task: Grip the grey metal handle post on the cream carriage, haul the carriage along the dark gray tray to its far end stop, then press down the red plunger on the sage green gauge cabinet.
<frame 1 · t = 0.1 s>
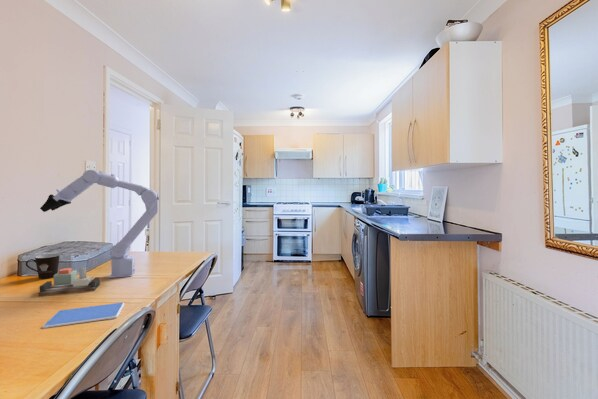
hand: (46, 209, 124), 32 cm above the table, tool tilted 50°, fingers open, 7 cm apart
plunger: (65, 274, 121), point 4 cm above the table, slide at 0.0 cm
gauge cabinet: (65, 284, 122), on the table
carriage: (82, 276, 116), point 5 cm above the table, slide at 0.0 cm
tablet computer: (87, 317, 93), on the table
dark gray tray: (71, 289, 115), on the table
coffee mug: (45, 277, 131), on the table
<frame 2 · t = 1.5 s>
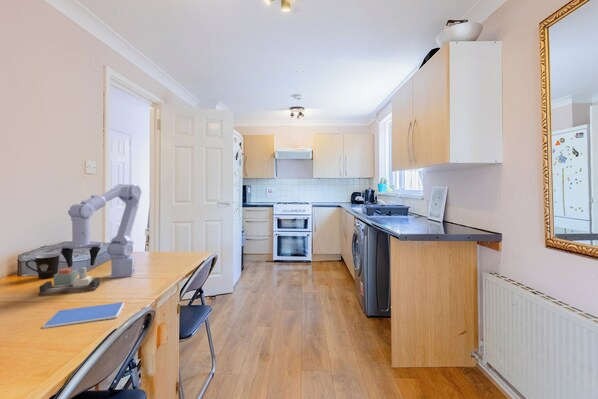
hand: (81, 265, 116), 10 cm above the table, tool pointing down, fingers open, 7 cm apart
nothing on the table moved.
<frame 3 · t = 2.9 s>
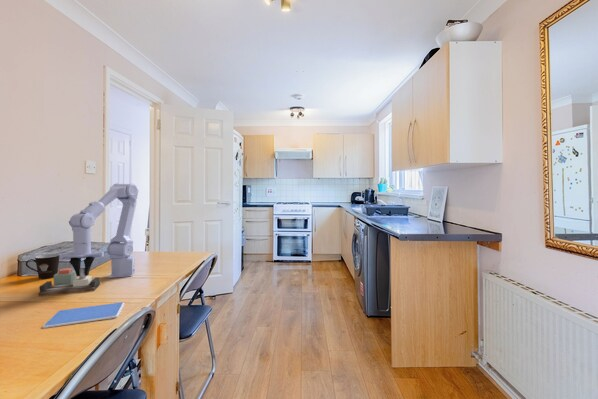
hand: (82, 275, 116), 6 cm above the table, tool pointing down, fingers closed on carriage, 2 cm apart
carriage: (82, 276, 116), point 5 cm above the table, slide at 0.0 cm, touching gripper
everything else where it was.
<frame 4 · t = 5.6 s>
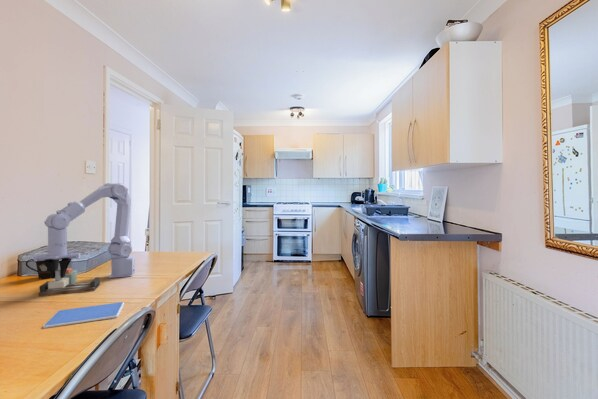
hand: (58, 277, 113), 6 cm above the table, tool pointing down, fingers closed on carriage, 2 cm apart
carriage: (58, 278, 113), point 5 cm above the table, slide at 8.1 cm, touching gripper
everything else where it was.
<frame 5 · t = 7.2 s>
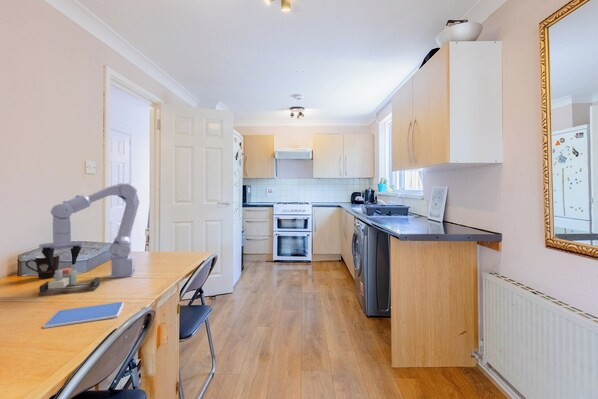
hand: (62, 264, 118), 9 cm above the table, tool pointing down, fingers open, 7 cm apart
carriage: (58, 278, 113), point 5 cm above the table, slide at 8.0 cm
everything else where it was.
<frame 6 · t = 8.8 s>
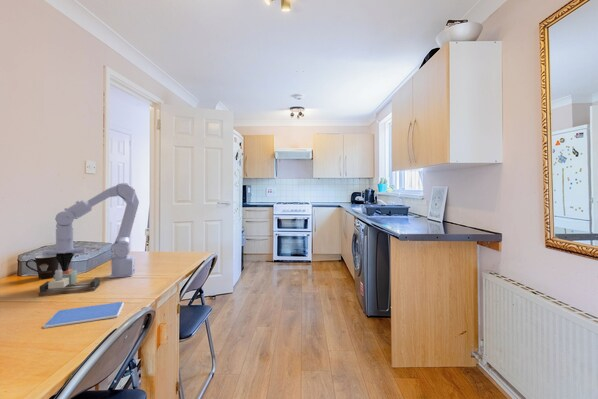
hand: (65, 270, 121), 6 cm above the table, tool pointing down, fingers closed, pressing on plunger
plunger: (65, 275, 121), point 4 cm above the table, slide at 0.5 cm, touching gripper
everything else where it was.
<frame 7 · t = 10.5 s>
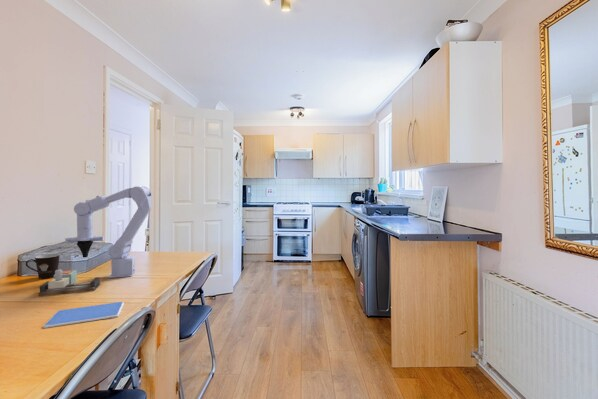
hand: (85, 256, 132), 9 cm above the table, tool pointing down, fingers closed
plunger: (65, 276, 121), point 3 cm above the table, slide at 1.1 cm
everything else where it was.
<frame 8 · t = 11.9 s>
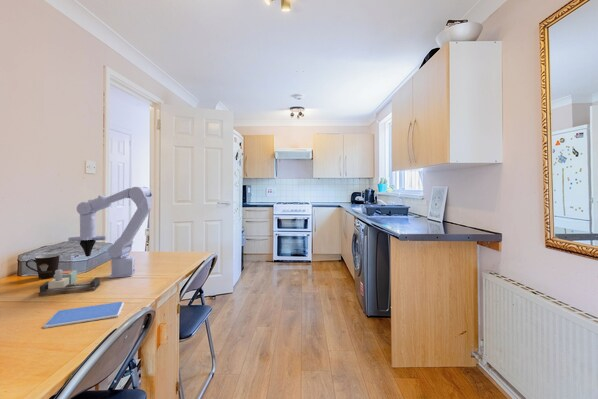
hand: (88, 256, 133), 9 cm above the table, tool pointing down, fingers closed
nothing on the table moved.
at the end: carriage slide at 8.0 cm; plunger slide at 1.1 cm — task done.
